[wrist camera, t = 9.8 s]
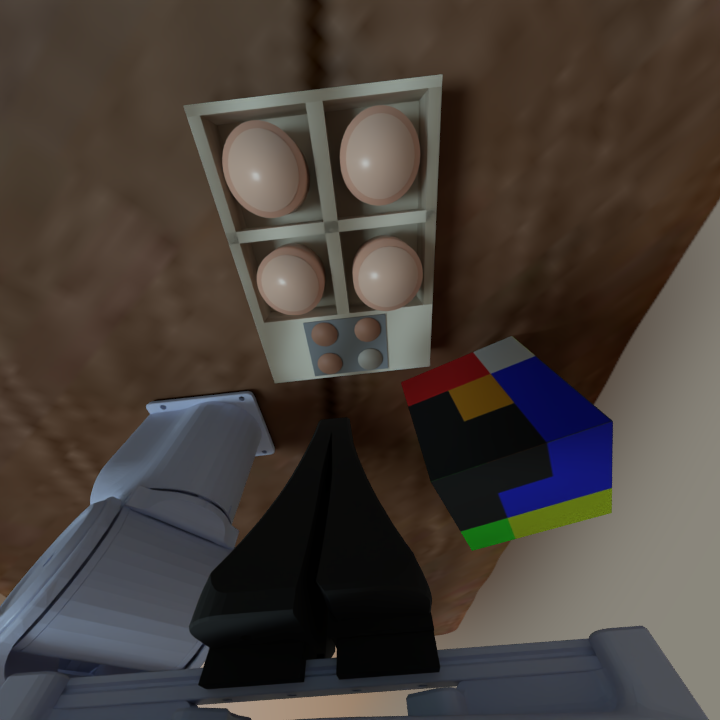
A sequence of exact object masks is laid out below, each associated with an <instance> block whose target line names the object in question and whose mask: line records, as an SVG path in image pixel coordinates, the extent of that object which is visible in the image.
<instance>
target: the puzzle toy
mask: <svg viewBox="0 0 720 720" xmlns="http://www.w3.org/2000/svg"><path fill="white" fill-rule="evenodd" d="M401 384H402V387H403V391H404V394H405V397H406V401H407V404H408V407H409V411H410V414H411V417H412V421H413V424H414V427H415V431H416V434H417V437H418V441H419V444H420V447H421V451H422V454H423V457H424V461H425V464H426V467H427V471H428V474H429V477H430V480H431V483H432V484H433V486H434V488H435V489H436V491H437V493H438V494H439V496H440V498H441V499H442V501H443V503H444V504H445V506H446V508H447V510H448V511H449V513H450V515H451V516H452V518H453V520H454V521H455V523H456V525H457V526H458V528H459V530H460V531H461V533H462V535H463V536H464V538H465V540H466V541H467V543H468V545H469V546H470V548H471V550H472V551H473V550H476V549H480V548H484V547H487V546H491V545H495V544H499V543H502V542H506V541H510V540H513V539H517V538H521V537H524V536H528V535H532V534H535V533H539V532H543V531H546V530H550V529H554V528H558V527H561V526H565V525H568V524H572V523H576V522H580V521H583V520H587V519H591V518H594V517H598V516H602V515H605V514H609V513H612V444H613V440H612V438H613V421H612V420H611V419H610V418H608V417H607V416H606V415H605V414H604V413H602V412H601V411H600V410H599V409H598V408H597V407H595V406H594V405H593V404H592V403H591V402H590V401H588V400H587V399H586V398H585V397H584V396H582V395H581V394H580V393H579V392H578V391H577V390H575V389H574V388H573V387H572V386H571V385H569V384H568V383H567V382H566V381H565V380H563V379H562V378H561V377H560V376H559V375H558V374H556V373H555V372H554V371H553V370H552V369H550V368H549V367H548V366H547V365H546V364H545V363H543V362H542V361H541V360H540V359H539V358H537V357H536V356H535V355H534V354H533V353H532V352H530V351H529V350H528V349H527V348H526V347H524V346H523V345H522V344H521V343H520V342H518V341H517V340H516V339H515V338H514V337H513V336H510V337H508V338H506V339H503V340H501V341H499V342H496V343H494V344H491V345H489V346H487V347H484V348H482V349H480V350H477V351H475V352H472V353H470V354H468V355H465V356H463V357H460V358H458V359H456V360H453V361H451V362H449V363H446V364H444V365H441V366H439V367H437V368H434V369H432V370H429V371H427V372H425V373H422V374H420V375H418V376H415V377H413V378H410V379H408V380H406V381H403V382H401Z"/></svg>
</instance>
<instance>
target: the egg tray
mask: <svg viewBox="0 0 720 720" xmlns="http://www.w3.org/2000/svg"><path fill="white" fill-rule="evenodd" d="M441 96H442V74H441V75H433V76H425V77H416V78H408V79H400V80H392V81H383V82H375V83H367V84H358V85H350V86H342V87H334V88H325V89H317V90H309V91H301V92H292V93H284V94H276V95H268V96H259V97H251V98H243V99H234V100H226V101H218V102H210V103H201V104H193V105H185V106H184V109H185V112H186V115H187V118H188V121H189V124H190V127H191V130H192V133H193V136H194V139H195V143H196V146H197V149H198V152H199V155H200V158H201V161H202V164H203V167H204V170H205V173H206V176H207V179H208V182H209V185H210V188H211V191H212V194H213V197H214V200H215V203H216V206H217V209H218V212H219V215H220V218H221V221H222V224H223V227H224V230H225V234H226V237H227V240H228V243H229V246H230V249H231V252H232V255H233V258H234V261H235V264H236V267H237V270H238V273H239V276H240V279H241V282H242V285H243V288H244V291H245V294H246V297H247V300H248V303H249V306H250V309H251V312H252V315H253V318H254V322H255V325H256V328H257V331H258V334H259V337H260V340H261V343H262V346H263V349H264V352H265V355H266V358H267V361H268V364H269V367H270V370H271V373H272V376H273V379H274V382H275V383H282V382H291V381H300V380H309V379H318V378H327V377H336V376H345V375H355V374H364V373H373V372H382V371H391V370H400V369H409V368H418V367H428V366H430V347H431V324H432V302H433V279H434V256H435V233H436V210H437V187H438V164H439V141H440V119H441ZM377 105H386V106H391V107H394V108H396V109H398V110H399V111H401V112H402V113H403V114H405V115H406V116H407V118H408V119H409V120H410V121H411V123H412V124H413V126H414V128H415V130H416V133H417V135H418V139H419V144H420V163H419V168H418V172H417V175H416V177H415V180H414V182H413V184H412V185H411V187H410V188H409V190H408V191H407V192H406V193H405V194H404V195H403V196H402V197H401V198H399V199H398V200H397V201H395V202H393V203H390V204H387V205H381V206H376V205H370V204H367V203H365V202H362V201H360V200H359V199H357V198H356V197H355V196H354V195H353V194H352V193H351V192H350V191H349V189H348V188H347V186H346V184H345V182H344V180H343V176H342V172H341V166H340V148H341V143H342V139H343V136H344V134H345V131H346V129H347V127H348V126H349V124H350V123H351V121H352V120H353V119H354V118H355V117H356V116H357V115H358V114H359V113H360V112H362V111H363V110H365V109H367V108H369V107H372V106H377ZM251 120H260V121H266V122H269V123H271V124H273V125H275V126H277V127H279V128H280V129H281V130H283V131H284V132H285V133H286V134H287V135H288V136H289V137H290V138H291V139H292V140H293V141H294V142H295V143H296V144H297V146H298V147H299V148H300V150H301V151H302V153H303V155H304V157H305V159H306V161H307V164H308V168H309V174H310V185H309V191H308V194H307V197H306V199H305V201H304V202H303V204H302V205H301V206H300V207H299V208H298V209H297V210H296V211H294V212H292V213H290V214H287V215H284V216H281V217H277V218H265V217H261V216H258V215H255V214H253V213H252V212H250V211H248V210H247V209H246V208H244V207H243V206H242V205H241V204H240V203H239V202H238V201H237V199H236V198H235V197H234V196H233V194H232V192H231V191H230V189H229V187H228V185H227V182H226V179H225V176H224V172H223V165H222V156H223V149H224V145H225V143H226V140H227V138H228V136H229V135H230V133H231V132H232V131H233V130H234V129H235V128H236V127H237V126H239V125H240V124H242V123H244V122H247V121H251ZM380 235H390V236H394V237H397V238H399V239H400V240H402V241H403V242H405V243H406V244H407V245H408V246H410V247H411V248H412V249H413V250H414V251H415V252H416V254H417V255H418V257H419V259H420V261H421V264H422V269H423V278H422V283H421V286H420V288H419V291H418V292H417V294H416V295H415V297H414V298H413V299H412V300H411V301H410V302H409V303H408V304H406V305H405V306H403V307H401V308H399V309H396V310H392V311H379V310H375V309H373V308H371V307H369V306H367V305H366V304H365V303H364V302H362V300H361V299H360V298H359V296H358V295H357V293H356V291H355V288H354V283H353V274H352V264H353V260H354V257H355V254H356V252H357V251H358V249H359V248H360V247H361V246H362V245H363V244H364V243H365V242H366V241H367V240H369V239H371V238H373V237H376V236H380ZM290 243H295V244H301V245H304V246H306V247H308V248H310V249H311V250H313V251H314V252H315V253H316V254H317V255H318V256H319V258H320V259H321V261H322V263H323V265H324V267H325V272H326V282H325V287H324V291H323V295H322V298H321V300H320V302H319V303H318V305H317V306H316V307H315V308H314V309H312V310H311V311H309V312H307V313H305V314H301V315H287V314H283V313H281V312H278V311H276V310H275V309H273V308H272V307H271V306H269V305H268V304H267V303H266V301H265V300H264V299H263V297H262V296H261V294H260V292H259V289H258V285H257V271H258V268H259V266H260V264H261V262H262V261H263V259H264V258H265V257H266V256H268V255H269V254H270V253H271V252H273V251H274V250H275V249H277V248H278V247H280V246H282V245H285V244H290Z"/></svg>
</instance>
